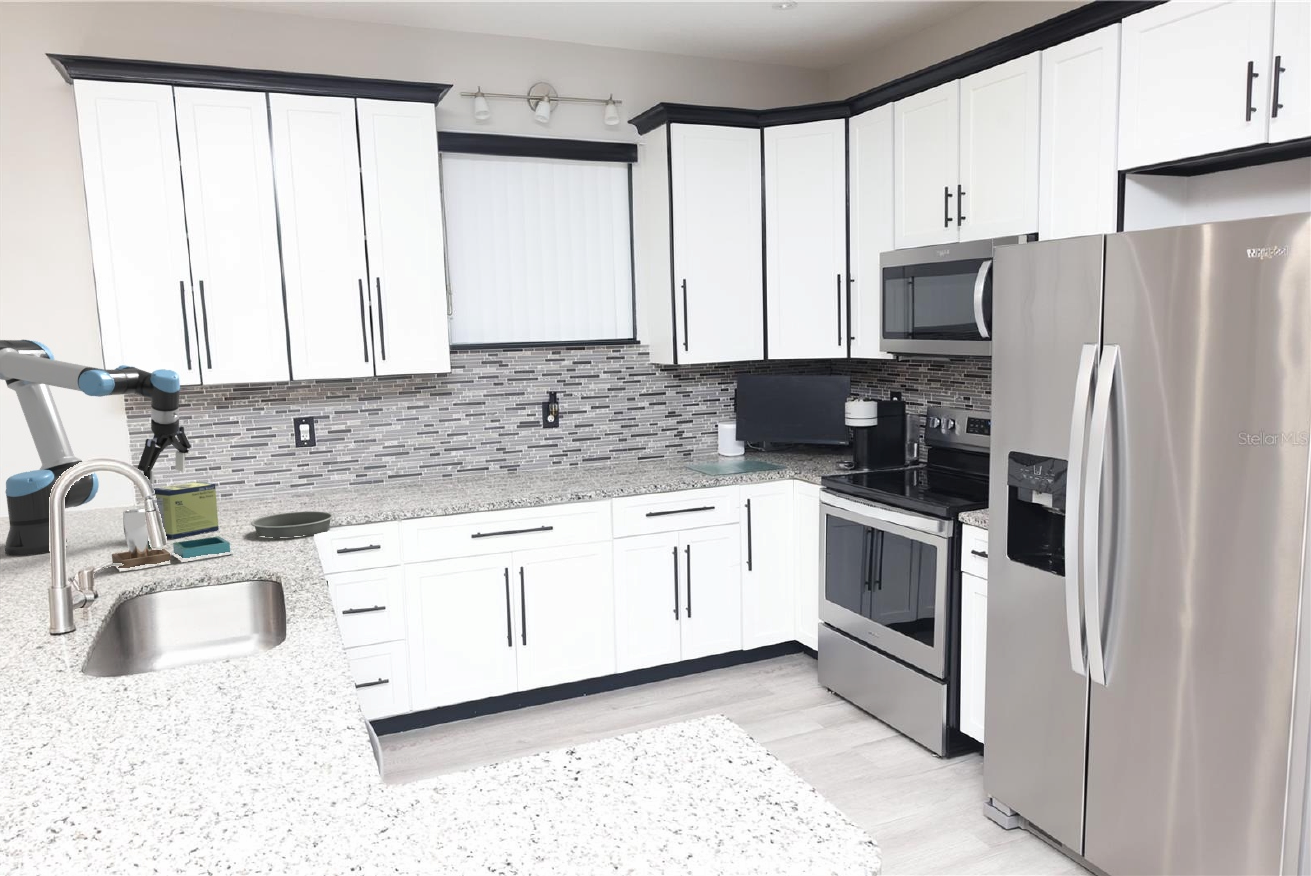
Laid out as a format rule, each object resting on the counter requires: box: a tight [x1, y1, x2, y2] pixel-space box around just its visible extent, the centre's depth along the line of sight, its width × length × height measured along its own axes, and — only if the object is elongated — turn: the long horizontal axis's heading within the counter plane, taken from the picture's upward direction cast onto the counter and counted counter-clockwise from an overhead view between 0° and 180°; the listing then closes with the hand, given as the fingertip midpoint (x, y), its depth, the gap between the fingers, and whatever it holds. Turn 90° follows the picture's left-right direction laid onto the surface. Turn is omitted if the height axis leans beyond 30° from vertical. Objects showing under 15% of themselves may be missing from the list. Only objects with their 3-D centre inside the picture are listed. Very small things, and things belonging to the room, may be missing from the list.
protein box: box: [153, 481, 220, 540], centre depth 273 cm, size 10×16×16 cm
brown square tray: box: [111, 548, 172, 568], centre depth 233 cm, size 12×12×3 cm
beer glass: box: [122, 508, 153, 559], centre depth 232 cm, size 7×7×15 cm
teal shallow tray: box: [172, 535, 231, 558], centre depth 242 cm, size 13×13×4 cm
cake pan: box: [250, 510, 334, 539], centre depth 273 cm, size 25×25×4 cm
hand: (164, 478), depth 271 cm, fingers open, 13 cm apart
